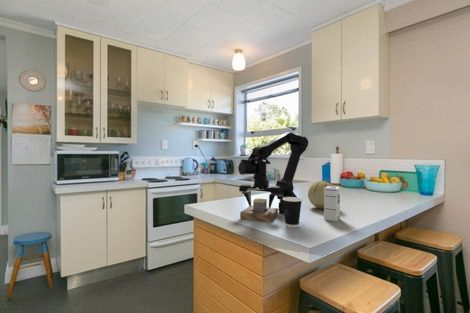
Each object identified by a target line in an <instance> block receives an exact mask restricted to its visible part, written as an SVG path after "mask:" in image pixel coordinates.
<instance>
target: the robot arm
mask: <svg viewBox="0 0 470 313" xmlns="http://www.w3.org/2000/svg"><path fill="white" fill-rule="evenodd" d="M285 144H289V145H290V146H289V147H290V152H291V153H290V155H289V158H288V161H287V164H286V168H285V170H284V174H283V177H282V178H281V179H280V180H277V181H276V184H275V185H272V186H270V180H268V176H267V165H271V162H270V160H268V158H269V157H271V155H272V154H273V152H274V151H275V150H277V149H278V148H280V147H282V146H284V145H285ZM308 146H309V140H308V138H307V137H306V136H302V135H298V134H296V133H293V132H291V131H289V132H284V133H282V134H281V135H279V136H278V137H276V138H274V139H273V140H271V141H269V142H267V143H265V144H260V145H258V146H254V147H253V148H252V151H251V153H250V155H249V157H248V158H247V159H242V158H241V159H240V162H239V165H238V167H237V169H238V170H237V171H238V173H239V174H240V175H242V176H243V175H244V176H245V175H253V176H252V178H253V186H251V184H240V185H239V186H238V189H239V190H238V191H239V192H240V193H241V194H243V196H244V197H245V199H246V201H247V204H248V207H249V206H250V207H251V206H252V192H253V191H254V192H255V191H257V192H267V193H269V194H268V195H269V197H268V208H269V209H270V208H272V204H273V202H274V200H275V197H276V198H277V200H279V202H278V214H284V203H283V198H285V197H297V195H296V194H295V193H294V182H293V180H294V177H295V175H296V171H297V168H298V165H299V162H300V158H301V156H302V154H303V153H305V152H306V150H307V148H308ZM297 198H298V197H297Z"/></svg>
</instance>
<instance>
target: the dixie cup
mask: <svg viewBox="0 0 470 313" xmlns="http://www.w3.org/2000/svg"><path fill="white" fill-rule="evenodd" d="M302 201H303V198H300V197H285V198H283V203H284V213H283V214H284V221H285V222H284V223H285V225H286V227H288V228H297V227H299V224H300V217H301V208H302Z"/></svg>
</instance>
